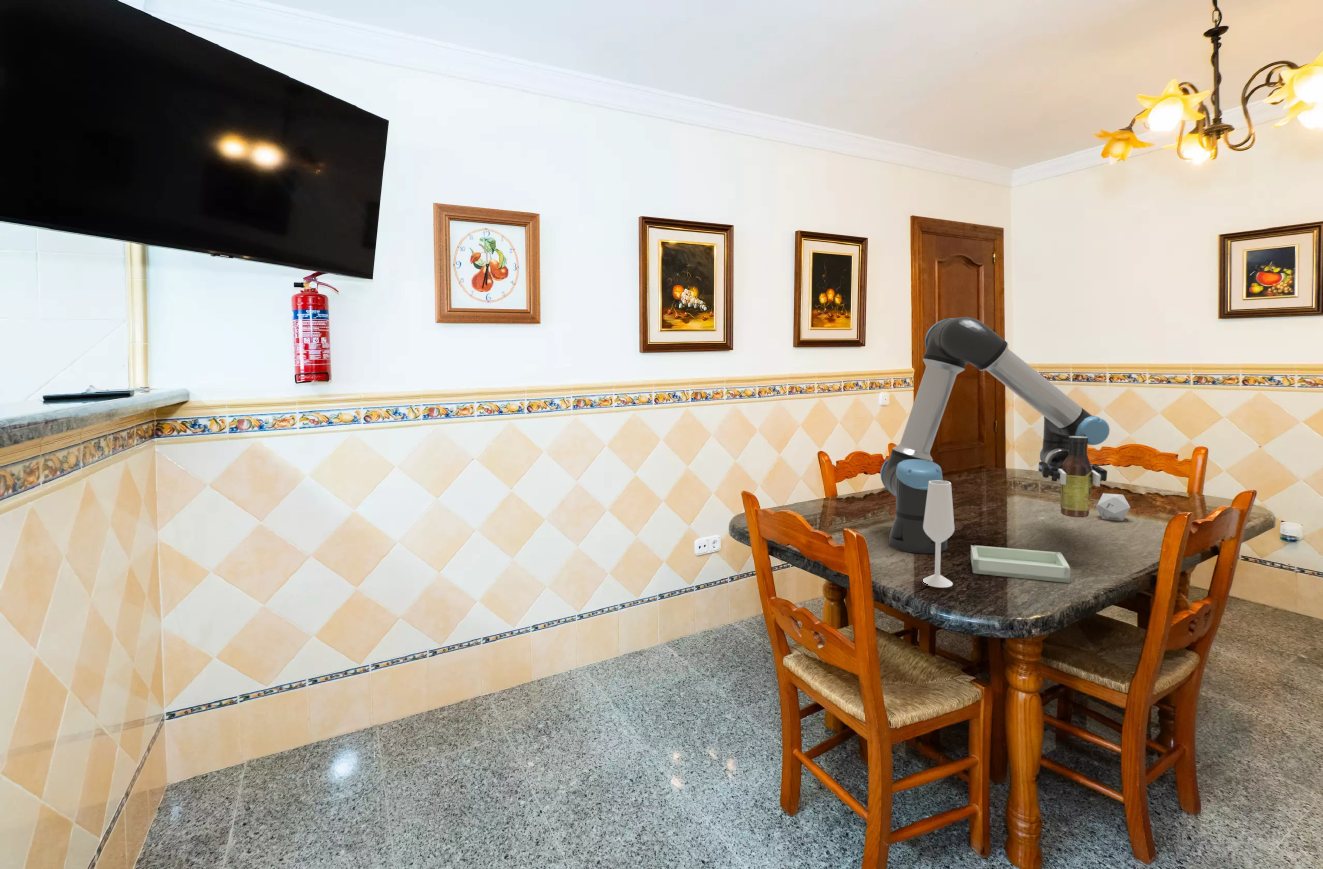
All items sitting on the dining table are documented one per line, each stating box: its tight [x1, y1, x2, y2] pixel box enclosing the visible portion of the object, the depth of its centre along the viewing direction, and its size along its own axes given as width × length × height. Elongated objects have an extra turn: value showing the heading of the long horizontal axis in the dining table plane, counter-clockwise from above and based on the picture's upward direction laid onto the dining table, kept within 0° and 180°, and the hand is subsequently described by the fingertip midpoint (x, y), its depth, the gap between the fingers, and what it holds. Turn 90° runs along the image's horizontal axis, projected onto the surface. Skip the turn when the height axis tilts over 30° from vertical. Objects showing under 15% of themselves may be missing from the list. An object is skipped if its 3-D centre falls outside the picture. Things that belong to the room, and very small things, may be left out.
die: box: [1095, 492, 1131, 522], centre depth 193 cm, size 8×9×10 cm
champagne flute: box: [922, 480, 955, 588], centre depth 145 cm, size 7×7×24 cm
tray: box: [970, 544, 1071, 584], centre depth 153 cm, size 20×12×4 cm, turn 66°
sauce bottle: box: [1060, 436, 1093, 518], centre depth 155 cm, size 7×6×20 cm
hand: (1081, 479), depth 150 cm, fingers closed on sauce bottle, 6 cm apart
